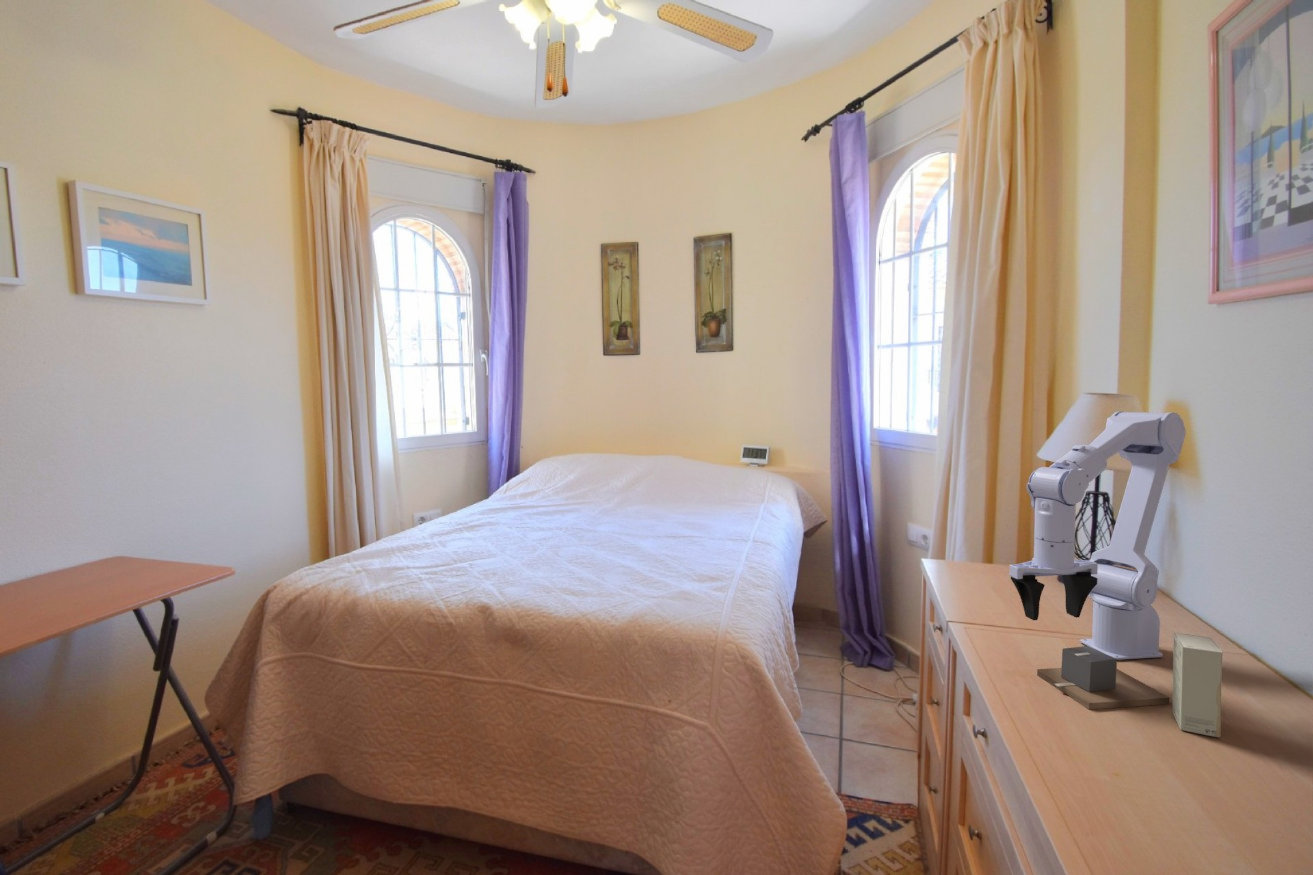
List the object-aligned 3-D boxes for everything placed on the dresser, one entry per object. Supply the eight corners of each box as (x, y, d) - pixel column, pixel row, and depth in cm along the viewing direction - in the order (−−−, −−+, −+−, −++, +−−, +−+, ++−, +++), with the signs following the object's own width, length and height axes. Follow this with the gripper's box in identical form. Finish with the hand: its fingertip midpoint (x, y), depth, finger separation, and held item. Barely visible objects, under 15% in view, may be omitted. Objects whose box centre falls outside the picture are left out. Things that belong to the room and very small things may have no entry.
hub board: (1109, 670, 102) (1110, 650, 101) (1169, 703, 91) (1170, 681, 90) (1032, 675, 101) (1032, 655, 100) (1083, 709, 90) (1084, 687, 89)
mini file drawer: (1086, 673, 99) (1087, 645, 98) (1115, 688, 94) (1117, 658, 93) (1061, 676, 98) (1062, 647, 97) (1089, 691, 93) (1090, 661, 92)
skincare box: (1221, 739, 82) (1225, 653, 81) (1178, 730, 84) (1182, 646, 83) (1209, 717, 87) (1213, 636, 86) (1169, 709, 89) (1173, 630, 88)
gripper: (1075, 530, 105) (1073, 605, 106) (998, 535, 104) (996, 610, 105) (1109, 540, 98) (1106, 620, 99) (1026, 545, 97) (1025, 626, 98)
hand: (1052, 616), depth 102 cm, fingers open, 7 cm apart
